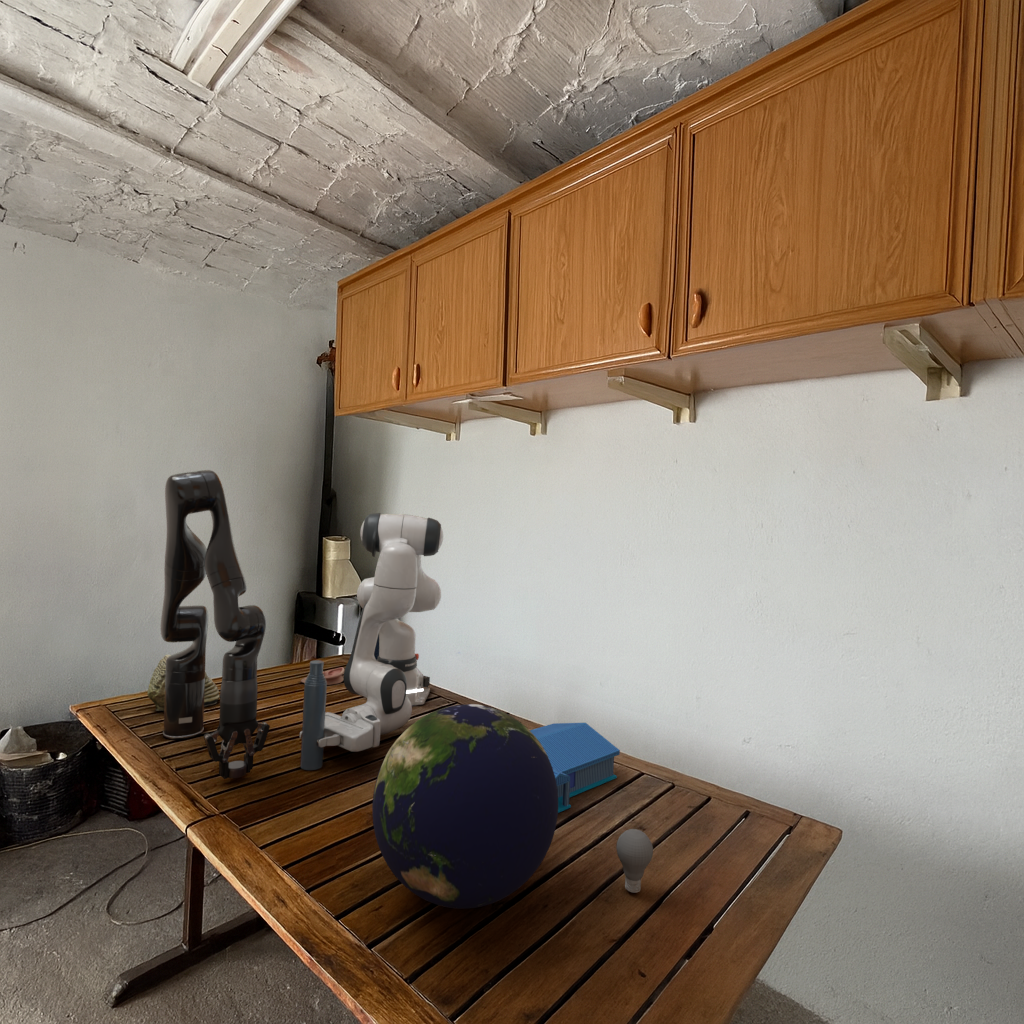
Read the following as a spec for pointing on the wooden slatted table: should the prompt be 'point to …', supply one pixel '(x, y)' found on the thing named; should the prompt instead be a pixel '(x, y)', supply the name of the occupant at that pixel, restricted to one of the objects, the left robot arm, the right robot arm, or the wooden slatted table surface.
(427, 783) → the globe
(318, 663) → the bottle
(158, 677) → the fossil
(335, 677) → the anatomical model
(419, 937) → the wooden slatted table surface
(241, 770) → the cap
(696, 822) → the wooden slatted table surface
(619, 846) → the light bulb
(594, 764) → the model building
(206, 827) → the wooden slatted table surface
